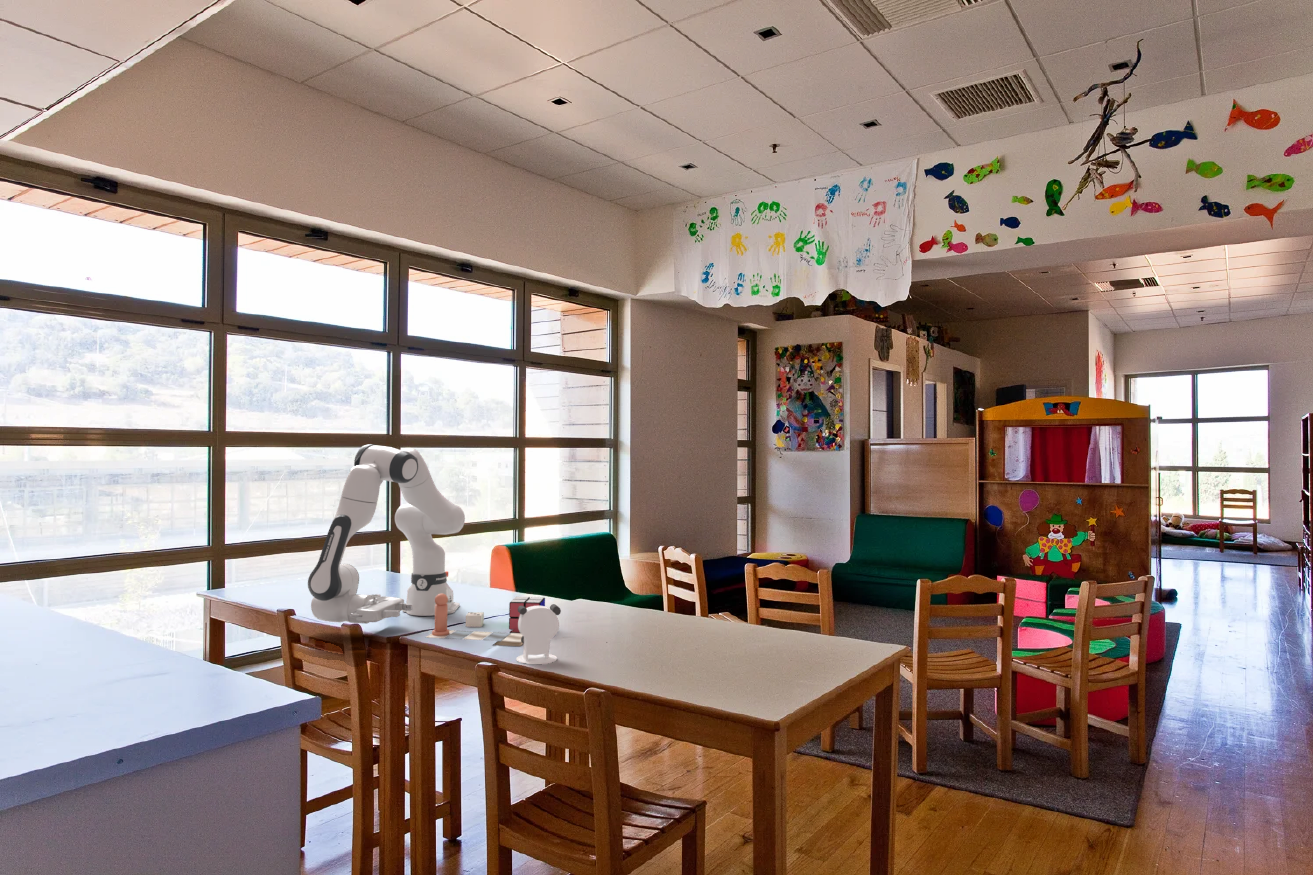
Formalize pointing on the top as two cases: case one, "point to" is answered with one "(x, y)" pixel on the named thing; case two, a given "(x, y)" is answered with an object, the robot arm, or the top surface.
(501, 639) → the track
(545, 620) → the panda figurine
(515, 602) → the puzzle cube
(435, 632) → the dildo
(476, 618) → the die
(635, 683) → the top surface
